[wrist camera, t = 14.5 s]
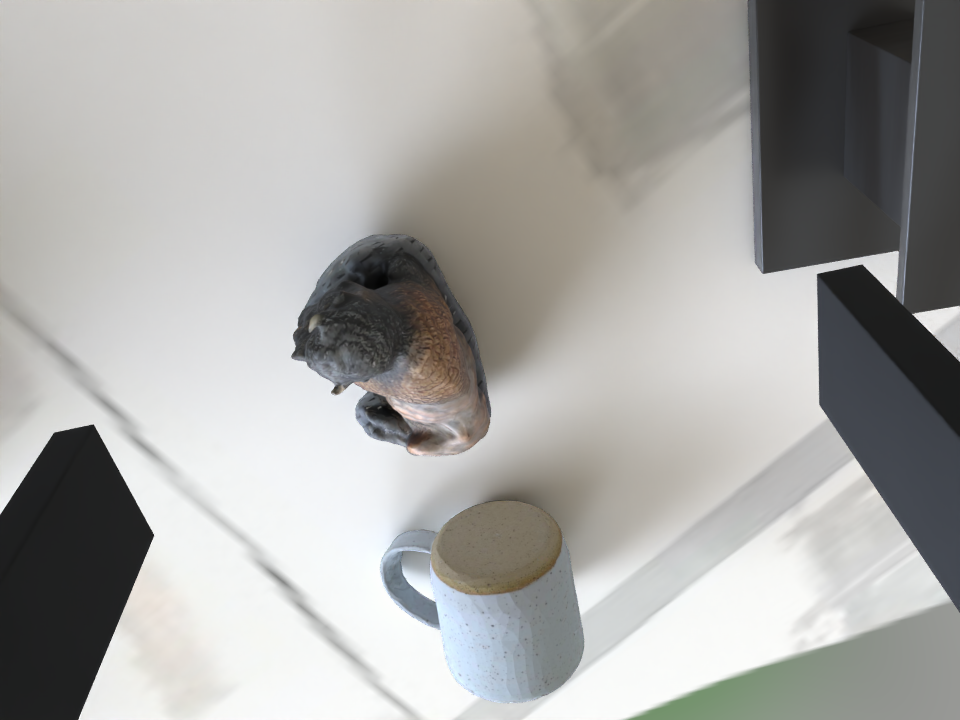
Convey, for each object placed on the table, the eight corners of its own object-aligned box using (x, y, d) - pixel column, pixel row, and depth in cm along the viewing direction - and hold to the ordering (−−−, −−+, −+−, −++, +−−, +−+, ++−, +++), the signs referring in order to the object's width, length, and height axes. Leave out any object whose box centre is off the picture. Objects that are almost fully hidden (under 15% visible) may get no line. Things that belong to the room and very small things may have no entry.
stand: (754, 263, 40) (822, 363, 33) (745, -65, 33) (829, -37, 26) (976, 225, 40) (1100, 318, 32) (1014, -120, 33) (1186, -108, 25)
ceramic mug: (559, 480, 47) (571, 585, 40) (577, 588, 51) (592, 700, 44) (367, 507, 48) (349, 614, 41) (401, 611, 52) (389, 724, 45)
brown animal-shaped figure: (518, 395, 44) (531, 531, 35) (393, 441, 45) (376, 582, 37) (416, 186, 38) (403, 286, 30) (277, 245, 40) (224, 358, 31)
